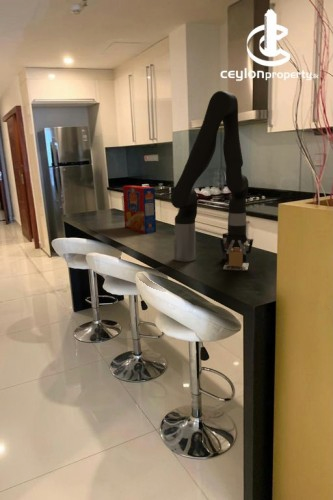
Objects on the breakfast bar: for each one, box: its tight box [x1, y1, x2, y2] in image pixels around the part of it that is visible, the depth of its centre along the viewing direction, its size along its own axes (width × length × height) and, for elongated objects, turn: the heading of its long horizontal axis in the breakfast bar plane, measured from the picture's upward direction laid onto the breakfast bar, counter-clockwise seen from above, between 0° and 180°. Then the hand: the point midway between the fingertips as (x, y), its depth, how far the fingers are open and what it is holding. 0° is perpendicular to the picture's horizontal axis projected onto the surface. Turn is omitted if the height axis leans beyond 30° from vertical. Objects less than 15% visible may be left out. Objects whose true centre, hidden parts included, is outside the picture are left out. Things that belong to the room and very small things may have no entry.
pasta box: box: [122, 184, 157, 235], centre depth 250 cm, size 28×8×28 cm, turn 32°
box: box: [222, 232, 238, 260], centre depth 178 cm, size 6×4×12 cm
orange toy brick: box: [229, 247, 243, 266], centre depth 165 cm, size 6×6×7 cm
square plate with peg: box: [222, 261, 250, 272], centre depth 165 cm, size 10×10×4 cm
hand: (236, 262), depth 165 cm, fingers closed on orange toy brick, 5 cm apart
